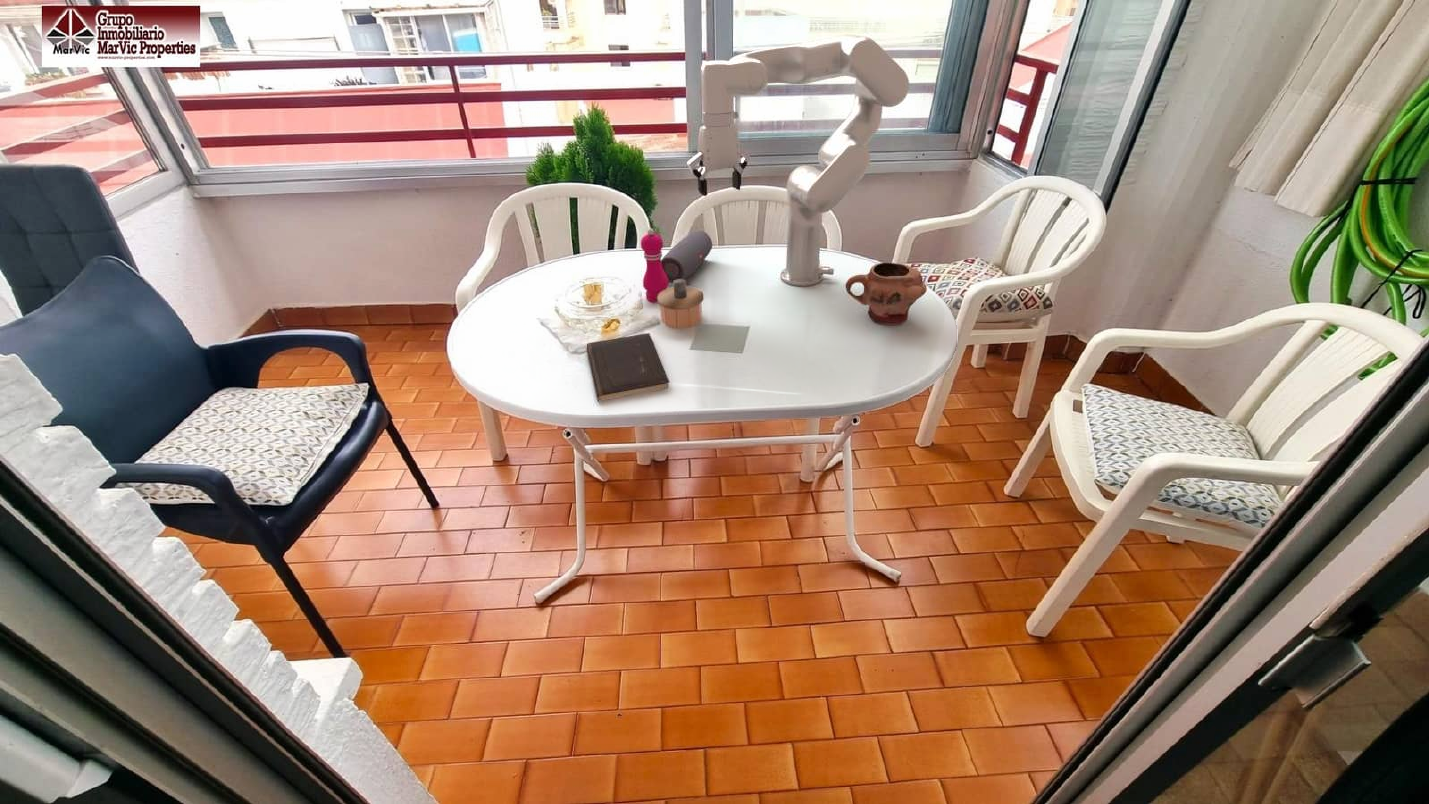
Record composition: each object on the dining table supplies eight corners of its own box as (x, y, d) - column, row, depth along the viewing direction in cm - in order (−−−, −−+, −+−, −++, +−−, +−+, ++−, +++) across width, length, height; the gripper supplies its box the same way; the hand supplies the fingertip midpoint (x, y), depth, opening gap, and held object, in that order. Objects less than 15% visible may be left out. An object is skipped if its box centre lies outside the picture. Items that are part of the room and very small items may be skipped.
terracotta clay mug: (846, 330, 146) (852, 279, 138) (838, 308, 156) (844, 259, 148) (925, 328, 146) (936, 277, 137) (913, 306, 156) (922, 257, 147)
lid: (707, 289, 154) (706, 273, 151) (698, 310, 145) (697, 293, 142) (663, 287, 156) (662, 271, 153) (652, 308, 147) (650, 290, 144)
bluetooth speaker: (687, 289, 169) (685, 257, 163) (658, 285, 171) (655, 253, 165) (714, 260, 185) (713, 229, 180) (688, 257, 188) (686, 227, 182)
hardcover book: (650, 340, 146) (649, 332, 145) (670, 390, 128) (669, 381, 127) (587, 351, 143) (585, 343, 142) (598, 403, 125) (596, 395, 124)
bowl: (704, 310, 157) (703, 290, 154) (696, 330, 149) (695, 309, 145) (667, 308, 159) (666, 288, 155) (657, 327, 150) (655, 307, 147)
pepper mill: (671, 291, 167) (666, 224, 156) (667, 303, 162) (661, 233, 150) (647, 291, 168) (639, 224, 156) (642, 302, 162) (634, 233, 151)
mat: (749, 327, 149) (749, 326, 149) (742, 354, 139) (742, 352, 138) (700, 324, 151) (700, 323, 151) (689, 350, 141) (689, 349, 141)
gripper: (742, 113, 146) (742, 182, 156) (679, 121, 140) (683, 193, 150) (756, 117, 140) (756, 189, 150) (692, 126, 134) (696, 201, 144)
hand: (720, 191), depth 150 cm, fingers open, 9 cm apart
